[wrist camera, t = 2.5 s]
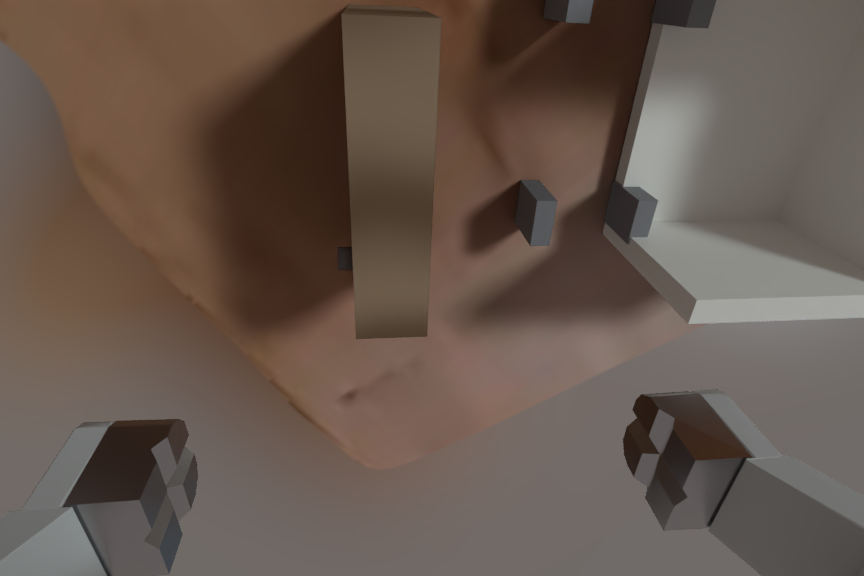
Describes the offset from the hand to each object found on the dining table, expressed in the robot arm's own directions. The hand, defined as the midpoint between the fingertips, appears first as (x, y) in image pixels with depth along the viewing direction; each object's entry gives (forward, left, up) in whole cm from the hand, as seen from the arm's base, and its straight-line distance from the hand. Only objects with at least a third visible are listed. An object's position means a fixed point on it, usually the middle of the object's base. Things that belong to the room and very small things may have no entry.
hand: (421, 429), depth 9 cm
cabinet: (-2, +15, -19) cm, 24 cm away
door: (0, 0, -19) cm, 19 cm away
